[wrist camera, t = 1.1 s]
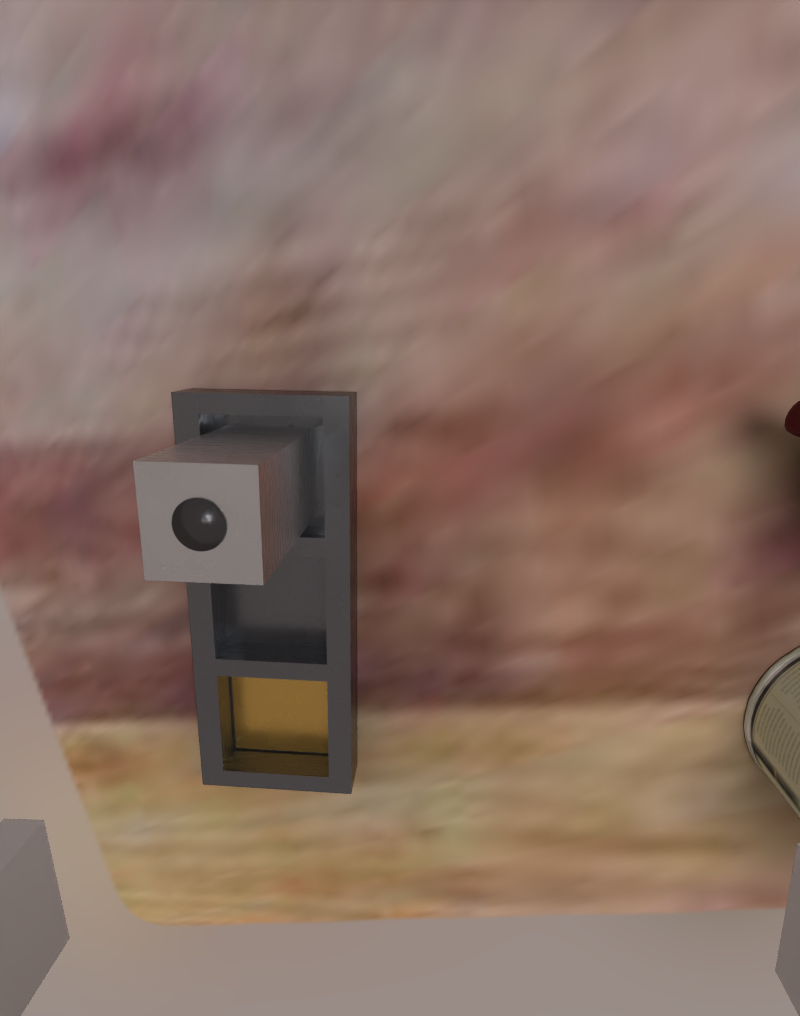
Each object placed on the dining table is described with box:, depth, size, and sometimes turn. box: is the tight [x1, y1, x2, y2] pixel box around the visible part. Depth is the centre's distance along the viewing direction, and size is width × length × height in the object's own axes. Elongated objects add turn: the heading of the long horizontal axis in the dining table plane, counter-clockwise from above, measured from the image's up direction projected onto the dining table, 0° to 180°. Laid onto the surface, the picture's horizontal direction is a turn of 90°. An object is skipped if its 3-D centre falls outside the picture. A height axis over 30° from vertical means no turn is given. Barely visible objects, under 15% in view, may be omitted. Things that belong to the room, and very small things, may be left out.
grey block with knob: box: [133, 425, 318, 585], centre depth 27 cm, size 4×4×10 cm
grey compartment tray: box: [171, 388, 357, 794], centre depth 33 cm, size 22×9×2 cm, turn 179°
